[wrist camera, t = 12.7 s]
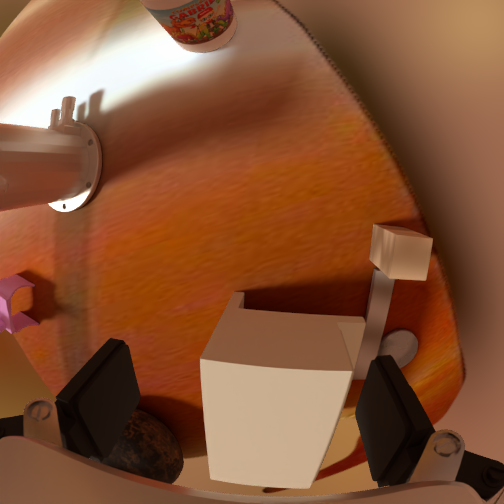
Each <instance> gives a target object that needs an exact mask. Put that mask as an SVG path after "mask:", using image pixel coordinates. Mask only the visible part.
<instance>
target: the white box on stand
mask: <svg viewBox="0 0 504 504" xmlns="http://www.w3.org/2000/svg"><path fill="white" fill-rule="evenodd" d="M365 326H366V322H365V320H364V318H363V317H359V316H335V315H316V314H301V313H287V312H274V311H262V310H251V309H244V292H235V291H234V293H233V295H232V297H231V299H230V301H229V303H228V305H227V307H226V308H225V310H224V312H223V314H222V316H221V318H220V320H219V322H218V324H217V326H216V328H215V330H214V332H213V334H212V336H211V338H210V340H209V342H208V344H207V346H206V348H205V350H204V352H203V354H202V356H201V358H200V369H201V385H202V399H203V412H204V424H205V434H206V444H207V454H208V462H209V471H210V479H212V480H218V481H224V482H230V483H237V484H246V485H254V486H265V487H279V488H309V487H310V486H311V484H312V482H314V481H315V479H316V476H317V474H318V472H319V470H320V467H321V465H322V463H323V460H324V458H325V456H326V453H327V451H328V448H329V445H330V443H331V440H332V438H333V435H334V432H335V430H336V427H337V424H338V422H339V419H340V416H341V413H342V410H343V407H344V404H345V401H346V398H347V395H348V392H349V389H350V385H351V382H352V379H353V375H354V369H355V365H356V362H357V358H358V354H359V350H360V347H361V342H362V338H363V334H364V330H365Z"/></svg>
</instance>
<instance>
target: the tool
mask: <svg viewBox="0 0 504 504" xmlns="http://www.w3.org/2000/svg"><path fill="white" fill-rule="evenodd" d="M432 242H433V238H430V237H428V236H425V235H423V234H420V233H418V232H415V231H413V230H410V229H408V228H405V227H397V226H388V225H378V224H373V233H372V242H371V250H370V257H369V260H370V261H372V262H373V263H374V264H375V265H376V266H377V267H378V268H379V269H378V268H374V271H373V277H372V283H371V289H370V294H369V299H368V305H367V310H366V314H365V319H364V320H365V322H366V326H365V330H364V334H363V338H362V342H361V347H360V350H359V354H358V358H357V362H356V365H355V369H354V375H353V379H352V380H362V379H366V376H367V372H368V369H369V365H370V362H371V360H375V358H376V356H377V353H378V349H379V346H380V342H381V338H382V334H383V331H384V327H385V323H386V318H387V314H388V310H389V305H390V301H391V296H392V291H393V286H394V281H395V279H406V280H425V281H426V277H427V272H428V266H429V261H430V255H431V249H432Z"/></svg>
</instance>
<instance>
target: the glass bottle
mask: <svg viewBox="0 0 504 504" xmlns="http://www.w3.org/2000/svg"><path fill="white" fill-rule="evenodd" d="M96 462H97V461H96ZM183 463H184V461H183V456H182V451H181V448H180V446H179V443H178V441H177V440H176V438H175V436H174V435H173V433H172V432H171V431H170V430H169V429H168V428H167V426H166V425H164V424H163V423H162V422H161V421H160V420H158V419H157V418H155V417H154V416H152V415H150V414H149V413H147V412H145V411H142V410H140V409H137V408H136V409H135V410H134V412H133V414H132V416H131V417H130V419H129V421H128V423H127V424H126V426H125V428H124V430H123V432H122V433H121V435H120V437H119V439H118V441H117V442H116V444H115V446H114V448H113V450H112V451H111V453H110V455H109V457H107V458H104V460H103V461H102V464H104V465H107V466H110V467H113V468H116V469H119V470H122V471H125V472H128V473H131V474H134V475H138V476H141V477H145V478H148V479H152V480H156V481H160V482H164V483H168V484H172V483H173V482H174V481H175V480H176V479H177V478H178V477H179V475H180V473H181V471H182V468H183Z"/></svg>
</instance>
